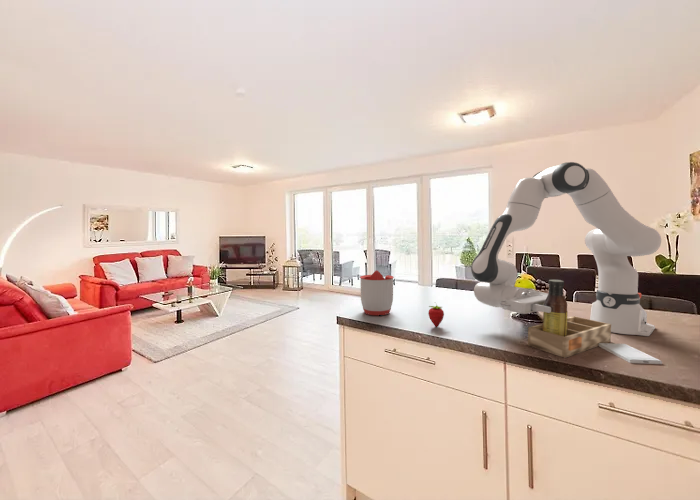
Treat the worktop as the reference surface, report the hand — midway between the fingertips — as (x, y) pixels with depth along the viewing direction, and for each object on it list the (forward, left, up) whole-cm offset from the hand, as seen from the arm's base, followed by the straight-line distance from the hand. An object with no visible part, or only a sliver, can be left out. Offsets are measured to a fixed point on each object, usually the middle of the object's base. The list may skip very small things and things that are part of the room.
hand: (558, 308), depth 92 cm
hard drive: (-15, +12, -14) cm, 23 cm away
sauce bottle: (0, -1, -11) cm, 11 cm away
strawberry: (+18, -35, -13) cm, 41 cm away
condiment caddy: (-9, -1, -13) cm, 16 cm away
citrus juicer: (+26, -64, -13) cm, 71 cm away
